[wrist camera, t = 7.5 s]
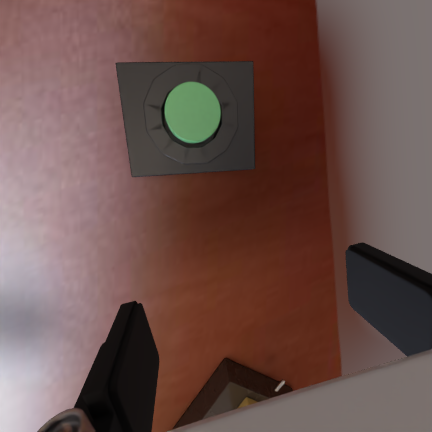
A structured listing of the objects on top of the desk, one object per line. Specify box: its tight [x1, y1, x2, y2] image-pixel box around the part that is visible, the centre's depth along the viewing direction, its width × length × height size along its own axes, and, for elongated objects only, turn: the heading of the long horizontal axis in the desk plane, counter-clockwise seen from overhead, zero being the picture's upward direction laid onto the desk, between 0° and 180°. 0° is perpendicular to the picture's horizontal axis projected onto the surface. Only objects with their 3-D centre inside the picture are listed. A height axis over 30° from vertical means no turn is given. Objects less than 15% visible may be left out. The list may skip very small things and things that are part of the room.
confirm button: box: [165, 82, 221, 143], centre depth 16 cm, size 4×4×2 cm
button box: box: [116, 61, 255, 177], centre depth 18 cm, size 10×8×4 cm
